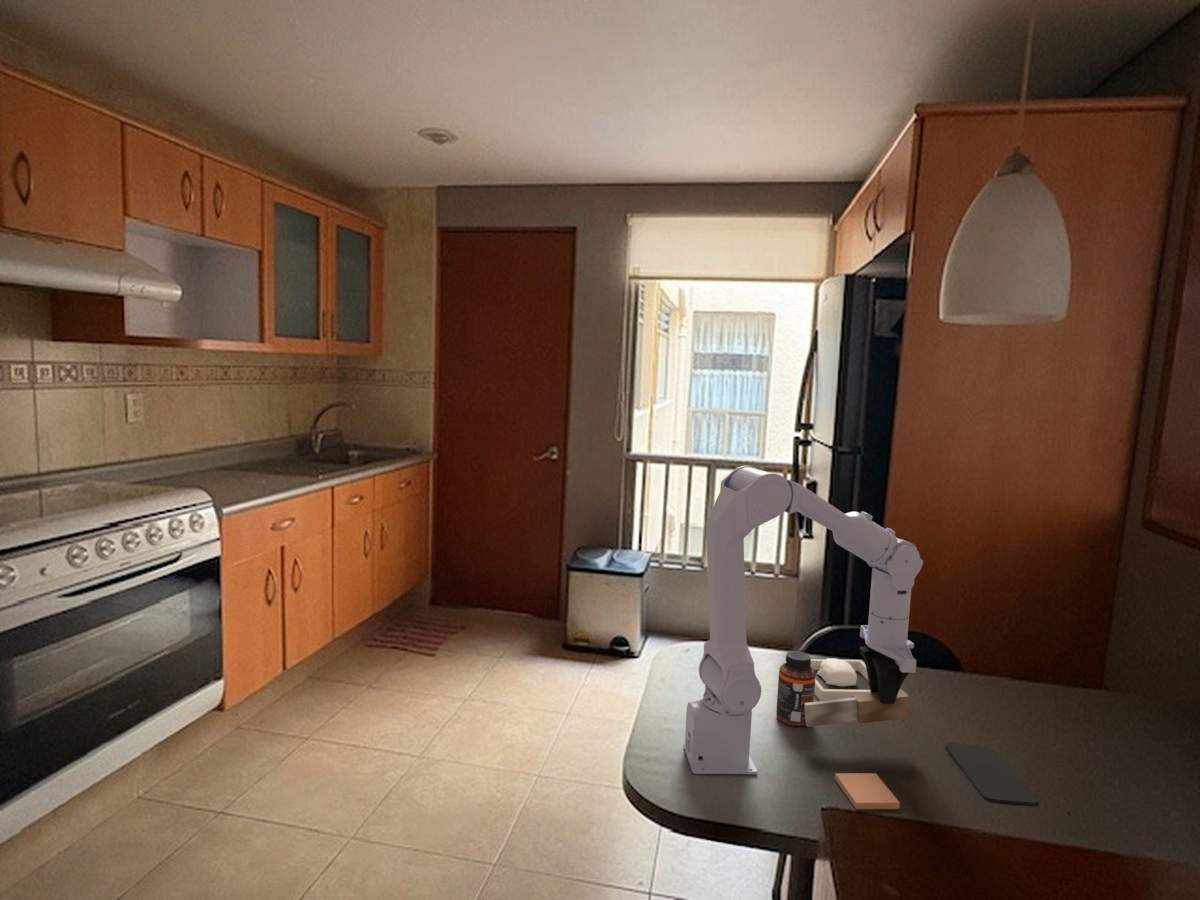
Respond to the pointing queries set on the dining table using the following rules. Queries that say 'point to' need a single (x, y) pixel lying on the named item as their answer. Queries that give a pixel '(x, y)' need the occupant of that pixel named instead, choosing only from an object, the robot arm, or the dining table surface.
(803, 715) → the supplement bottle
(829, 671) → the white rounded lump
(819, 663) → the garlic dish rim
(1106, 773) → the dining table surface
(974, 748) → the phone
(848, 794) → the tile
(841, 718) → the scraper
